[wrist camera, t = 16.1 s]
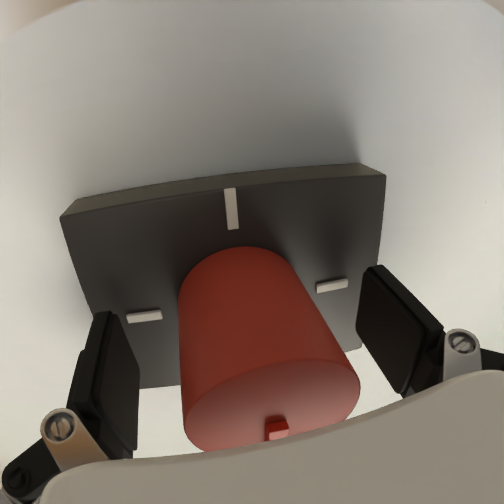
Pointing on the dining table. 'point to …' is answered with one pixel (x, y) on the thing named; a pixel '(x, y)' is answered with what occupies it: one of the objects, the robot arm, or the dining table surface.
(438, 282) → the dining table surface
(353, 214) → the dark square slab
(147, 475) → the robot arm
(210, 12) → the dining table surface
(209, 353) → the red cylindrical knob
